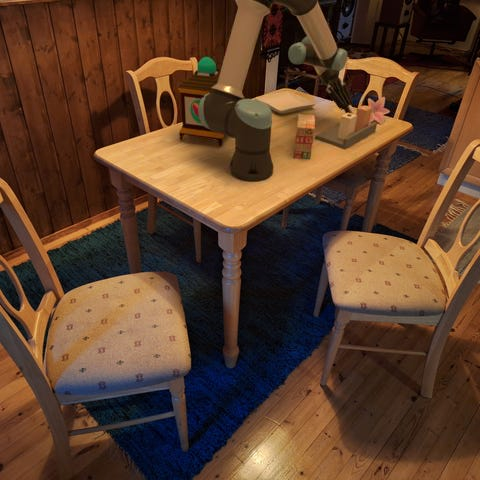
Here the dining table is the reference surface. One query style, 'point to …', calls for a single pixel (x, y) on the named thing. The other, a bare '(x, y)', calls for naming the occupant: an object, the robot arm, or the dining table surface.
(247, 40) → the robot arm
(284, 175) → the dining table surface
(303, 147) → the stack of blocks
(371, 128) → the tray
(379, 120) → the lily
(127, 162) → the dining table surface
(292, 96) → the salad plate
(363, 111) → the key two
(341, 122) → the key one
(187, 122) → the decorative lantern
